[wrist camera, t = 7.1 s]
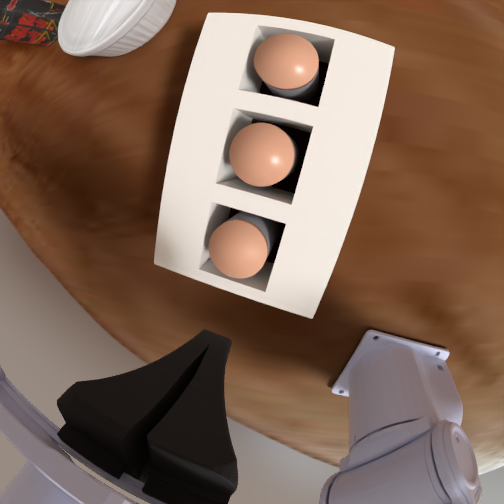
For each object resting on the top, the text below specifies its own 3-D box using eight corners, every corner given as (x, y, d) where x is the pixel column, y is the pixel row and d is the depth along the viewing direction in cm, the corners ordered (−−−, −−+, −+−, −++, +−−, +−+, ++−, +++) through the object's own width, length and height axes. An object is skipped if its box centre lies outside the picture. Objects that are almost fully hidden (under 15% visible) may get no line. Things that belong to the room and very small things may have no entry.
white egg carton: (379, 69, 14) (397, 44, 10) (314, 287, 21) (312, 323, 16) (230, 37, 16) (205, 9, 11) (183, 243, 22) (149, 266, 17)
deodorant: (37, 47, 18) (-50, 42, 5) (54, 10, 16) (-29, -5, 2) (57, 44, 18) (-43, 34, 4) (76, 3, 16) (-16, -19, 2)
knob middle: (305, 138, 17) (301, 131, 13) (292, 186, 18) (283, 194, 14) (256, 126, 17) (237, 116, 13) (244, 172, 19) (222, 177, 14)
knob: (323, 66, 15) (324, 40, 11) (312, 109, 16) (310, 94, 12) (275, 56, 15) (262, 29, 11) (263, 98, 17) (247, 81, 12)
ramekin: (188, 43, 16) (153, 19, 12) (89, 81, 19) (50, 75, 14) (190, -40, 13) (165, -67, 8) (99, 0, 15) (67, -13, 11)
